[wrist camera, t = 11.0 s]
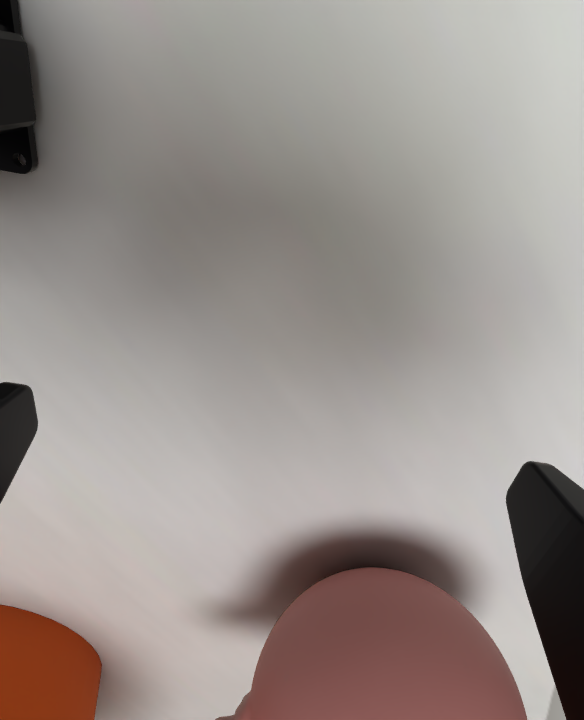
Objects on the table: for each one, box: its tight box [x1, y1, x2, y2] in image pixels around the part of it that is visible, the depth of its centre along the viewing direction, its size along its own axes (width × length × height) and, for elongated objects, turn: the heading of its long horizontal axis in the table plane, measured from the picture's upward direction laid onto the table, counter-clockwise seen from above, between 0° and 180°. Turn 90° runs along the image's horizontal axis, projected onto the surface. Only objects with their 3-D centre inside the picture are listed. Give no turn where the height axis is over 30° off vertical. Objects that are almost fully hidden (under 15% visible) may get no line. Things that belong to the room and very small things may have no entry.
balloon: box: [215, 567, 527, 720], centre depth 26 cm, size 15×20×15 cm
